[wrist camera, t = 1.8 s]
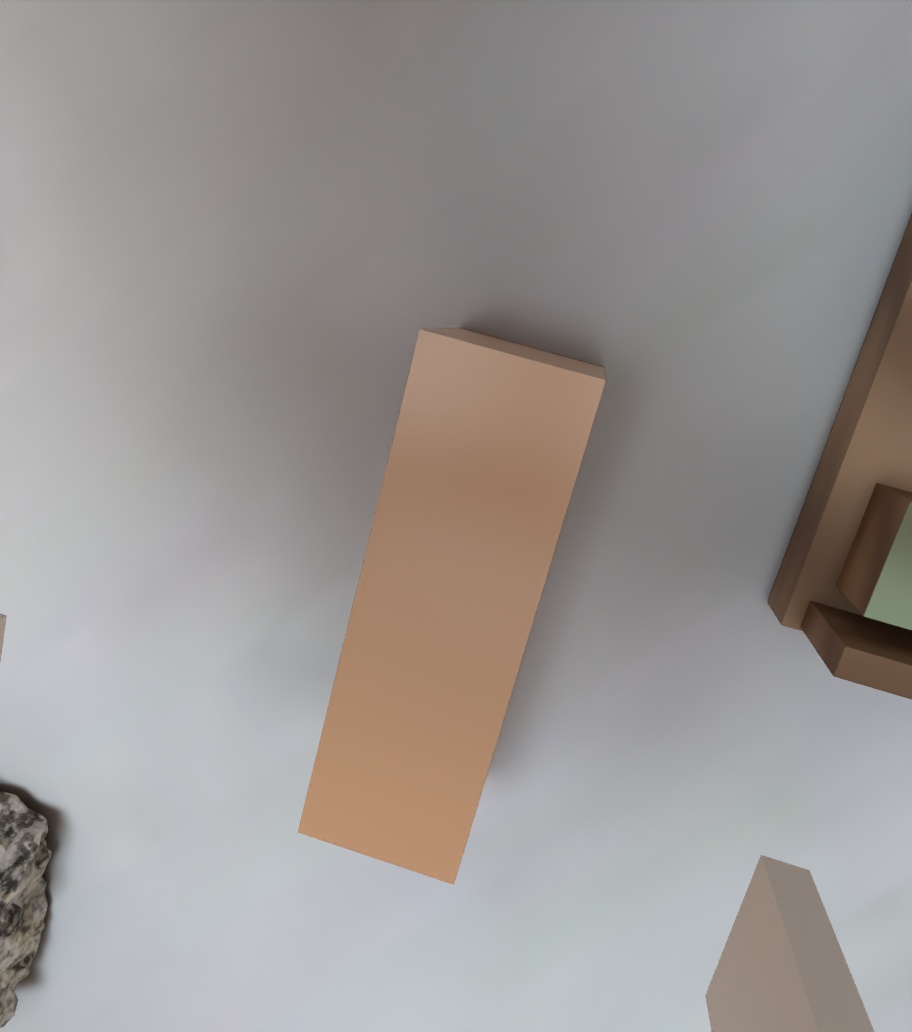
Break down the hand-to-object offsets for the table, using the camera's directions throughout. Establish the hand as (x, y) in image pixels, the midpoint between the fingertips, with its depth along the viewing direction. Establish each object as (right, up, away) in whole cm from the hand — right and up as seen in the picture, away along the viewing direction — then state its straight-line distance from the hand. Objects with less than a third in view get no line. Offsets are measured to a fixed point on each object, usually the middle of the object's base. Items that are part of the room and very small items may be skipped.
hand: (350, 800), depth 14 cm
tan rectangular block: (+2, +3, +13) cm, 14 cm away
